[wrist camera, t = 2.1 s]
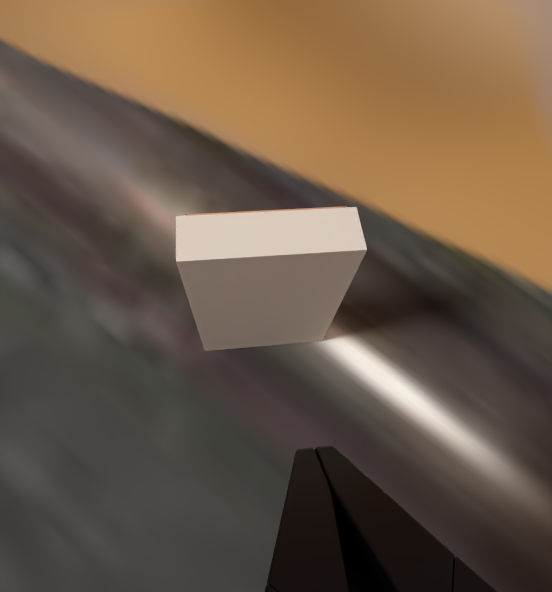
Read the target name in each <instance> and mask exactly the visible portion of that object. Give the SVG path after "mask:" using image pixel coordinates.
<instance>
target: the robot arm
mask: <svg viewBox="0 0 552 592" xmlns="http://www.w3.org/2000/svg"><path fill="white" fill-rule="evenodd" d="M265 592H497V591H496V590H494V589H493V588H492V587H491V586H490V585H489V584H487V583H486V582H485V581H484V580H483V579H482V578H480V577H479V576H478V575H477V574H476V573H475V572H473V571H472V570H471V569H470V568H469V567H468V566H467V565H466V564H465V563H463V562H462V561H461V560H460V559H459V558H458V557H455V558H454V554H453V553H452V552H451V551H450V550H449V549H448V548H447V547H445V546H444V545H443V544H442V543H441V542H440V541H439V540H438V539H436V538H435V537H434V536H433V535H432V534H431V533H430V532H429V531H428V530H426V529H425V528H424V527H423V526H422V525H421V524H420V523H419V522H418V521H416V520H415V519H414V518H413V517H412V516H411V515H410V514H409V513H408V512H406V511H405V510H404V509H403V508H402V507H401V506H400V505H399V504H397V503H396V502H395V501H394V500H393V499H392V498H391V497H390V496H389V495H387V494H386V493H385V492H384V491H383V490H382V489H381V488H380V487H379V486H377V485H376V484H375V483H374V482H373V481H372V480H371V479H370V478H369V477H367V476H366V475H365V474H364V473H363V472H362V471H361V470H360V469H359V468H357V467H356V466H355V465H354V464H353V463H352V462H351V461H350V460H348V459H347V458H346V457H345V456H344V455H343V454H342V453H341V452H340V451H338V450H337V449H336V448H335V447H334V446H322V447H317V448H316V449H314V448H304V449H298V450H297V451H296V454H295V458H294V463H293V467H292V472H291V476H290V481H289V485H288V490H287V495H286V499H285V504H284V508H283V513H282V517H281V522H280V526H279V531H278V535H277V540H276V544H275V549H274V553H273V558H272V562H271V567H270V571H269V576H268V580H267V586H266V588H265Z"/></svg>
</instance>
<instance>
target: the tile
mask: <svg viewBox="0 0 552 592" xmlns="http://www.w3.org/2000/svg"><path fill="white" fill-rule="evenodd" d="M366 251H367V248H366V244H365V240H364V236H363V232H362V228H361V224H360V220H359V216H358V212H357V208H356V207H350V208H346V206H345V207H325V208H305V209H285V210H265V211H245V212H225V213H205V214H185V216H176V263H177V266H178V269H179V272H180V275H181V279H182V282H183V285H184V288H185V291H186V294H187V297H188V300H189V303H190V306H191V309H192V313H193V316H194V319H195V322H196V325H197V328H198V331H199V334H200V337H201V340H202V343H203V347H204V350H205V351H211V350H222V349H234V348H245V347H257V346H269V345H280V344H292V343H303V342H315V341H323V339H324V336H325V334H326V332H327V330H328V328H329V326H330V324H331V322H332V320H333V318H334V316H335V314H336V312H337V310H338V308H339V306H340V304H341V302H342V300H343V298H344V296H345V294H346V292H347V290H348V287H349V285H350V283H351V281H352V279H353V277H354V275H355V273H356V271H357V269H358V267H359V265H360V263H361V261H362V259H363V257H364V255H365V253H366Z"/></svg>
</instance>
